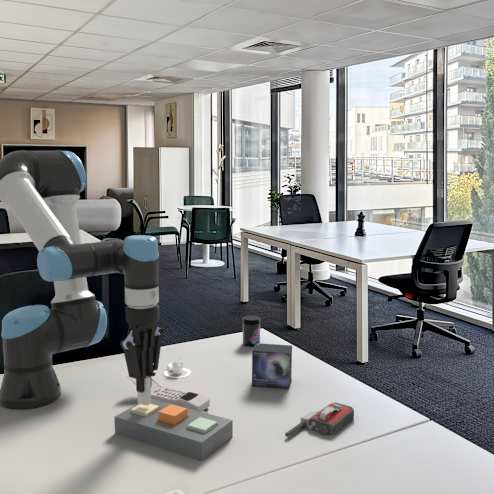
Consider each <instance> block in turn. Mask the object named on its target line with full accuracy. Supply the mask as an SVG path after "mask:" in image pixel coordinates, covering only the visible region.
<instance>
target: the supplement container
mask: <svg viewBox="0 0 494 494" xmlns="http://www.w3.org/2000/svg"><path fill="white" fill-rule="evenodd" d="M256 343H261V316H258V315H245V316H243V317H242V344H243V345H244V346H246V347H254V346H255V344H256Z"/></svg>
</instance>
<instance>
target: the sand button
mask: <svg viewBox="0 0 494 494" xmlns="http://www.w3.org/2000/svg"><path fill="white" fill-rule="evenodd" d="M159 410H160V408H159V406H157V405H153V404H149V405H148V406H146V405H142V404H140V405H138V406H136V407H134V408H132V409H131V413H133V414H137V415H140V416H144V417H148V416H150V415H152V414H154V413H155V412H157V411H159Z"/></svg>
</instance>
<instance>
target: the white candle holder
mask: <svg viewBox="0 0 494 494" xmlns="http://www.w3.org/2000/svg"><path fill="white" fill-rule="evenodd" d="M166 368H167V369H166V370H165V371H163V376H165V377H167V378H170V379H182V378H186V377H188V376H190V375H191V374H192V371H191V370H190V369H189V368H184V360H183V359H180V358H176V359H173V360H171V362H169V363H168V364H167V367H166ZM183 371H184V372H186V373H185V374H184V375H182V376H173V375H169V374H168V373H169V372H173V374H174V375H181V374H182V372H183Z"/></svg>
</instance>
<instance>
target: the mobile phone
mask: <svg viewBox="0 0 494 494" xmlns="http://www.w3.org/2000/svg"><path fill="white" fill-rule="evenodd" d="M127 378H128V379H129V380H130V381H131V382H132V383H133V384H134V385H135V386H136V379H135V378H131V377H129V375H128V376H127ZM151 399H154V400H158V401H162V402H166V403H170V404H173V405H177V406H181V407H185V408H188V409H192V410H196V411H200V412H204V413H207V414H209V413H208V412H207V411H205V410H206V409H208V408H209V407H210V406H211V403H210V402H211V400H210V398H209V397H207V396H204V395H203V394H200V393H197V392H194V391H193V392H192V391H183V390H178V389H175V388H170V387H169V388H168V387H165V386H162V385H160V384H159V383H158V382H157V381H156V380H154V379H153V378H152V386H151Z"/></svg>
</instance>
